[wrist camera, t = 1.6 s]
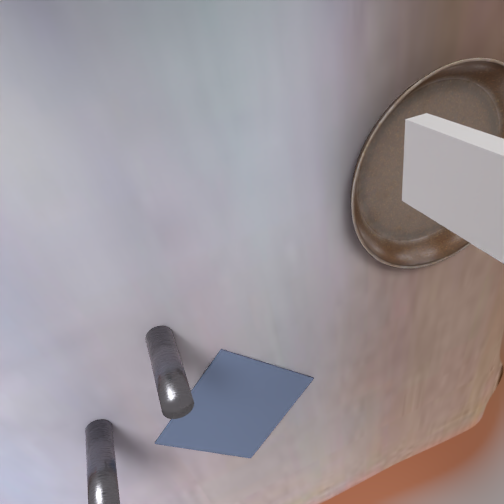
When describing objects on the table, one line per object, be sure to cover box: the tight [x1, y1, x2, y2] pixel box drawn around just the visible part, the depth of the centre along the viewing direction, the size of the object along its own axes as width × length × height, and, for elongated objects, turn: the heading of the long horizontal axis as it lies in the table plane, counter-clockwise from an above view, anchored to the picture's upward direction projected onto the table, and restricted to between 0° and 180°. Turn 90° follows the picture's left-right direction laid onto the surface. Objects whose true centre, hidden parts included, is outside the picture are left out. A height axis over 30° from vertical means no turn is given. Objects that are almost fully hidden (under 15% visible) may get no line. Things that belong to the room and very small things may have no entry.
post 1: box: [85, 420, 120, 504], centre depth 42 cm, size 3×3×9 cm
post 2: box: [146, 326, 194, 419], centre depth 39 cm, size 3×3×9 cm
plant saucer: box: [351, 58, 504, 268], centre depth 43 cm, size 21×21×3 cm
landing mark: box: [155, 349, 314, 458], centre depth 51 cm, size 14×14×1 cm
